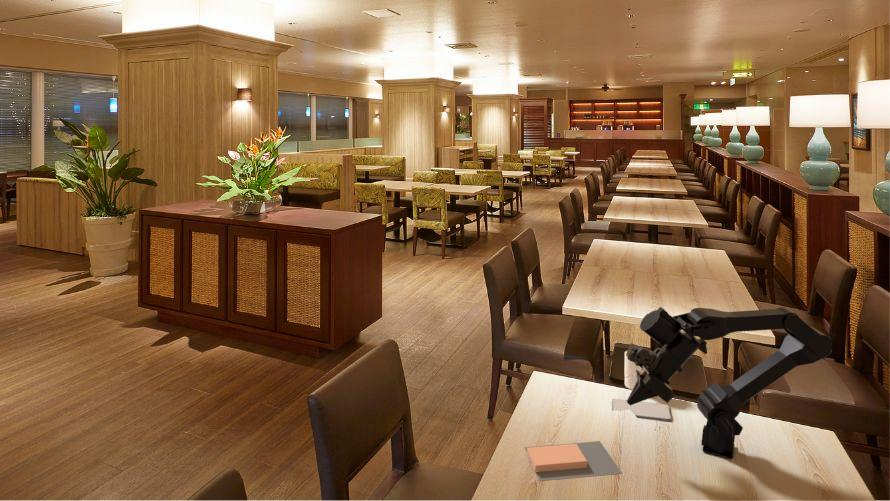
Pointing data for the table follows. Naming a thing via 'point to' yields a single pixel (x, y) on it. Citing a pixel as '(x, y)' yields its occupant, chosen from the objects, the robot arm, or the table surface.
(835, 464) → the table surface
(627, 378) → the white cup
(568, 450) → the terracotta tile
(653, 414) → the smartphone
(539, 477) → the rubber mat
